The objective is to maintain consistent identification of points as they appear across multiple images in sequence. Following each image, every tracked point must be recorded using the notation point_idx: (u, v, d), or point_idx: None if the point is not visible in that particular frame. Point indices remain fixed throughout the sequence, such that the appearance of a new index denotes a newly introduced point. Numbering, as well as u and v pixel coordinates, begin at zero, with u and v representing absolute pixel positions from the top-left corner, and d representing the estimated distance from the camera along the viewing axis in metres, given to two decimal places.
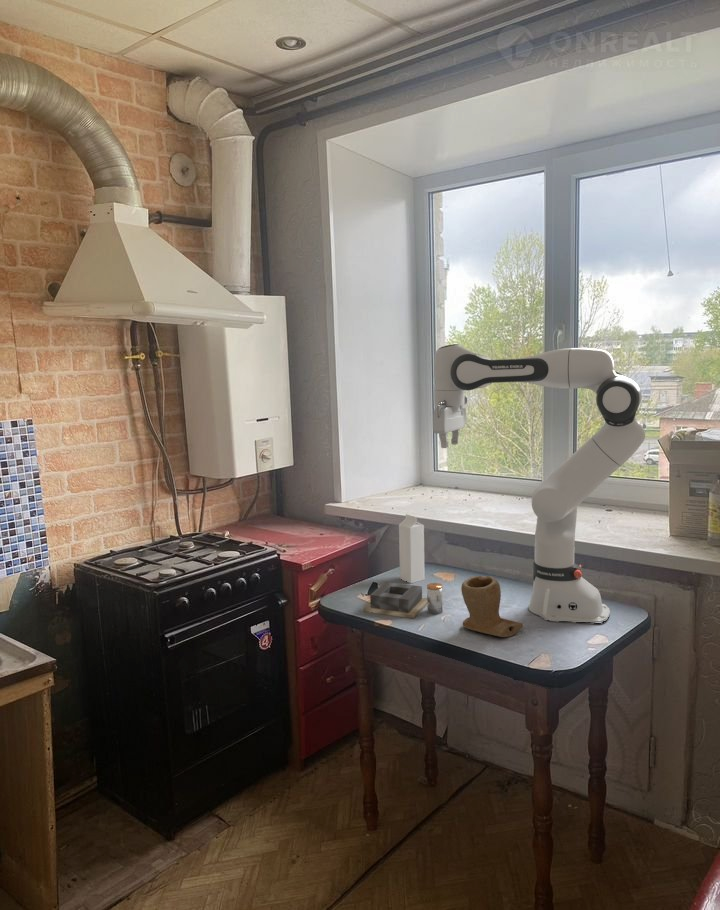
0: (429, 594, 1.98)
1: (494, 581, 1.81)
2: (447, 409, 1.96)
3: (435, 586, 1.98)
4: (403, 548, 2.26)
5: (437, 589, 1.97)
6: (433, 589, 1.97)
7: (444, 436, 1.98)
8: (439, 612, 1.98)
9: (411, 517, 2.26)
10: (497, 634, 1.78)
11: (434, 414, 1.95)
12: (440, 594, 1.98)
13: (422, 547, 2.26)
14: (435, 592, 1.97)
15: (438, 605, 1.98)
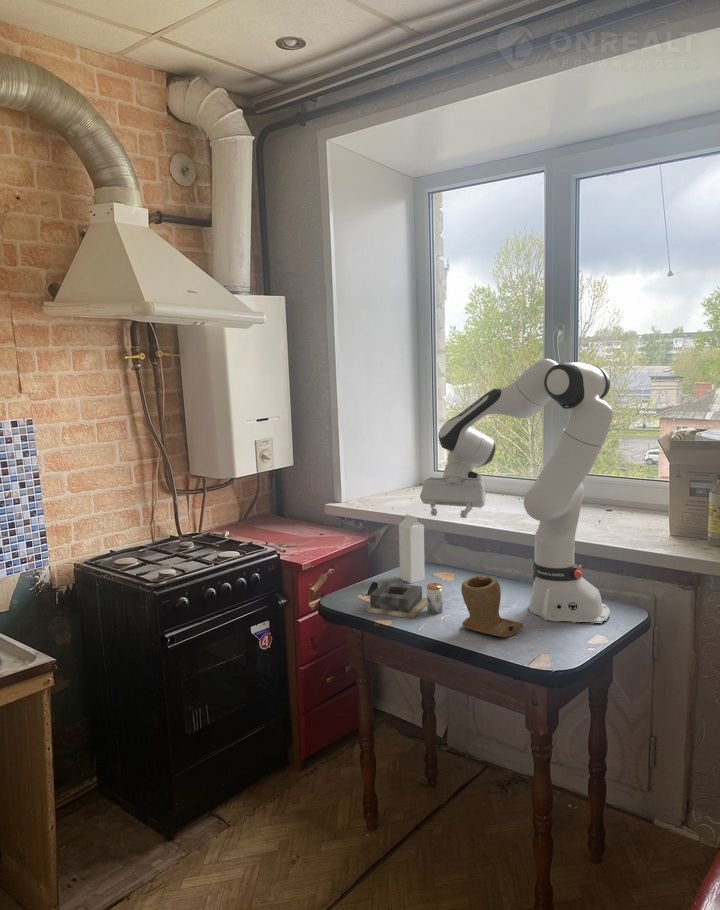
0: (429, 594, 1.98)
1: (494, 581, 1.81)
2: (432, 480, 2.17)
3: (435, 586, 1.98)
4: (403, 548, 2.26)
5: (437, 589, 1.97)
6: (433, 589, 1.97)
7: None
8: (439, 612, 1.98)
9: (411, 517, 2.26)
10: (497, 634, 1.78)
11: None
12: (440, 594, 1.98)
13: (422, 547, 2.26)
14: (435, 592, 1.97)
15: (438, 605, 1.98)
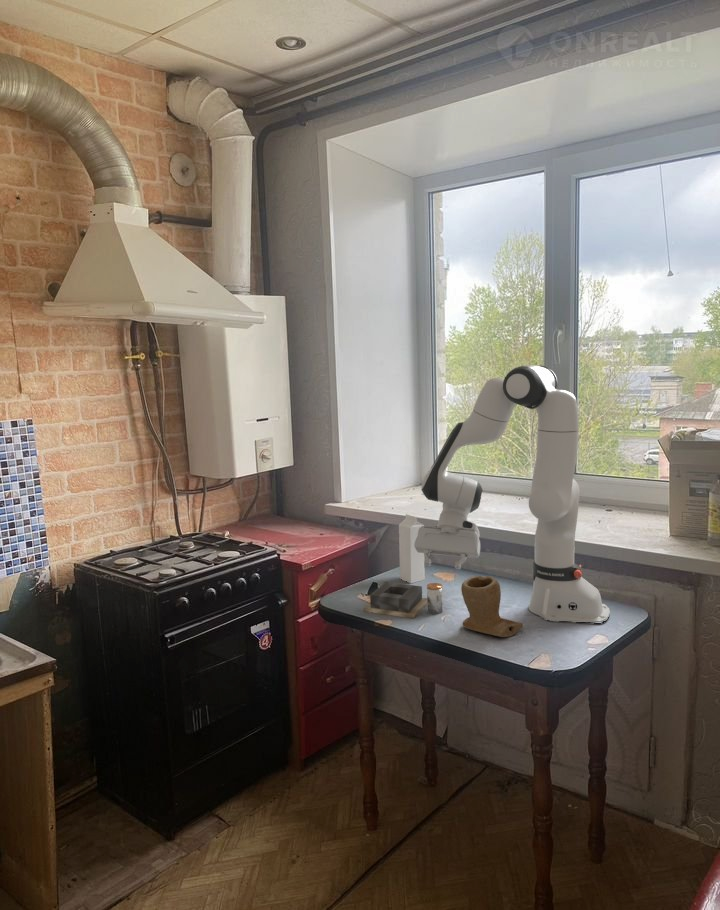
0: (429, 594, 1.98)
1: (494, 581, 1.81)
2: (426, 529, 2.13)
3: (435, 586, 1.98)
4: (403, 548, 2.26)
5: (437, 589, 1.97)
6: (433, 589, 1.97)
7: None
8: (439, 612, 1.98)
9: (411, 517, 2.26)
10: (497, 634, 1.78)
11: None
12: (440, 594, 1.98)
13: None
14: (435, 592, 1.97)
15: (438, 605, 1.98)
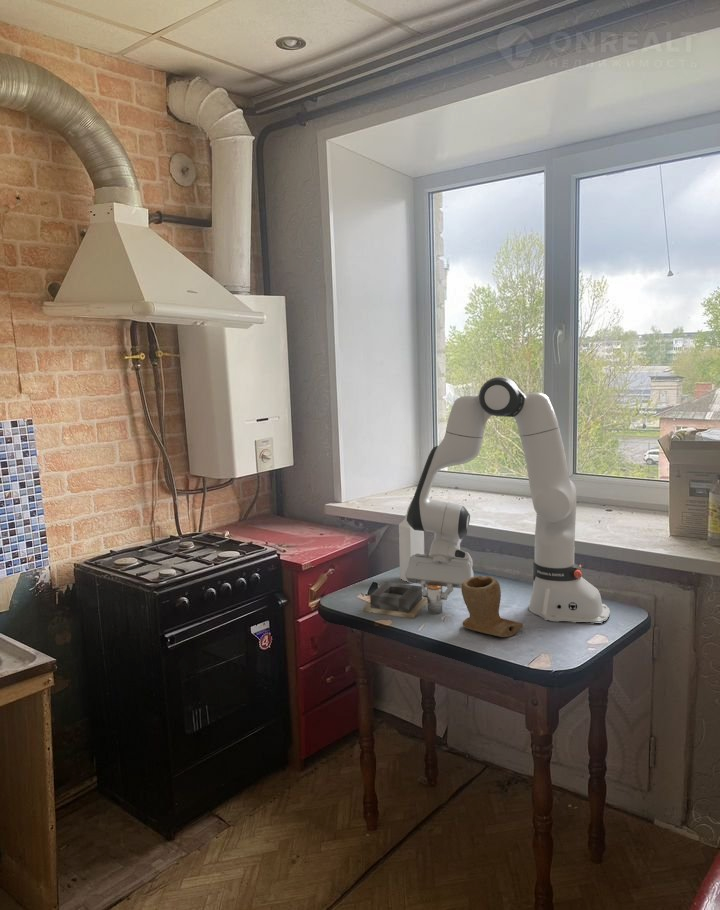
0: (429, 594, 1.98)
1: (494, 581, 1.81)
2: (418, 558, 2.06)
3: (435, 586, 1.98)
4: (403, 548, 2.26)
5: (437, 589, 1.97)
6: (433, 589, 1.97)
7: None
8: (439, 612, 1.98)
9: None
10: (497, 634, 1.78)
11: None
12: (440, 594, 1.98)
13: (422, 547, 2.26)
14: (435, 592, 1.97)
15: (438, 605, 1.98)
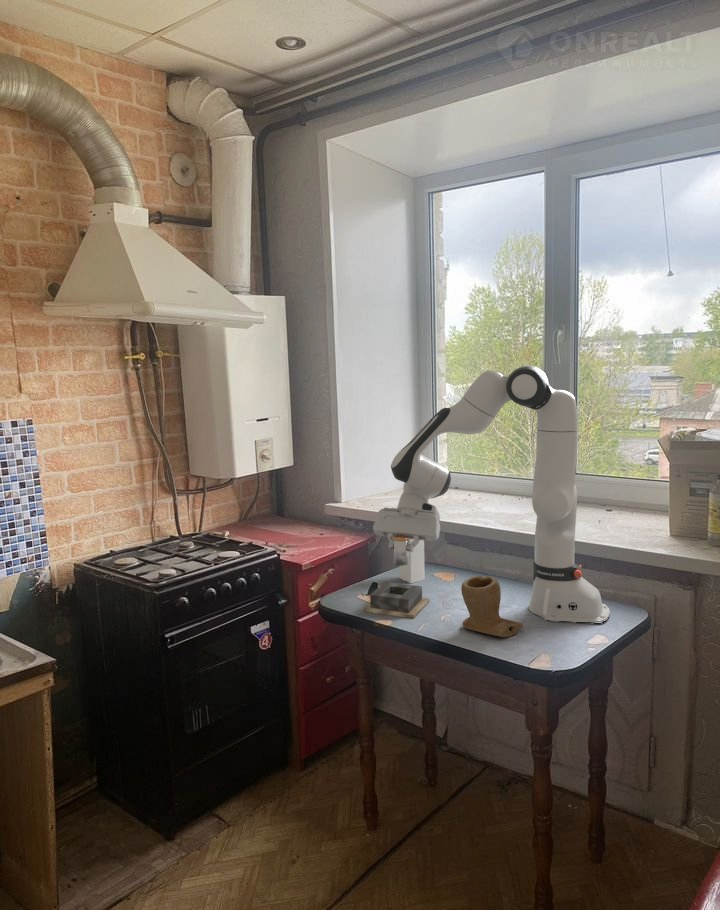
0: (396, 545, 2.00)
1: (494, 581, 1.81)
2: (386, 511, 2.08)
3: (401, 537, 2.00)
4: None
5: (403, 540, 1.99)
6: (399, 540, 1.99)
7: None
8: (405, 563, 2.00)
9: None
10: (497, 634, 1.78)
11: None
12: (406, 545, 2.00)
13: (422, 547, 2.26)
14: (401, 543, 1.99)
15: (404, 557, 2.00)
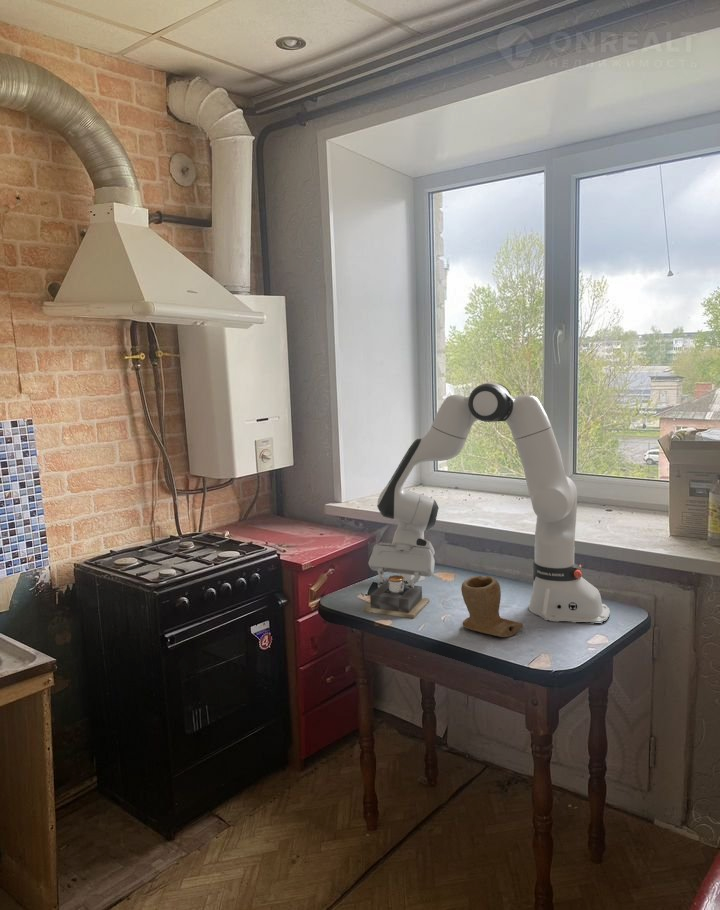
0: (391, 586, 2.02)
1: (494, 581, 1.81)
2: (381, 546, 2.11)
3: (396, 578, 2.03)
4: None
5: (398, 581, 2.01)
6: (394, 581, 2.01)
7: None
8: None
9: None
10: (497, 634, 1.78)
11: None
12: (401, 586, 2.02)
13: None
14: (396, 584, 2.01)
15: None
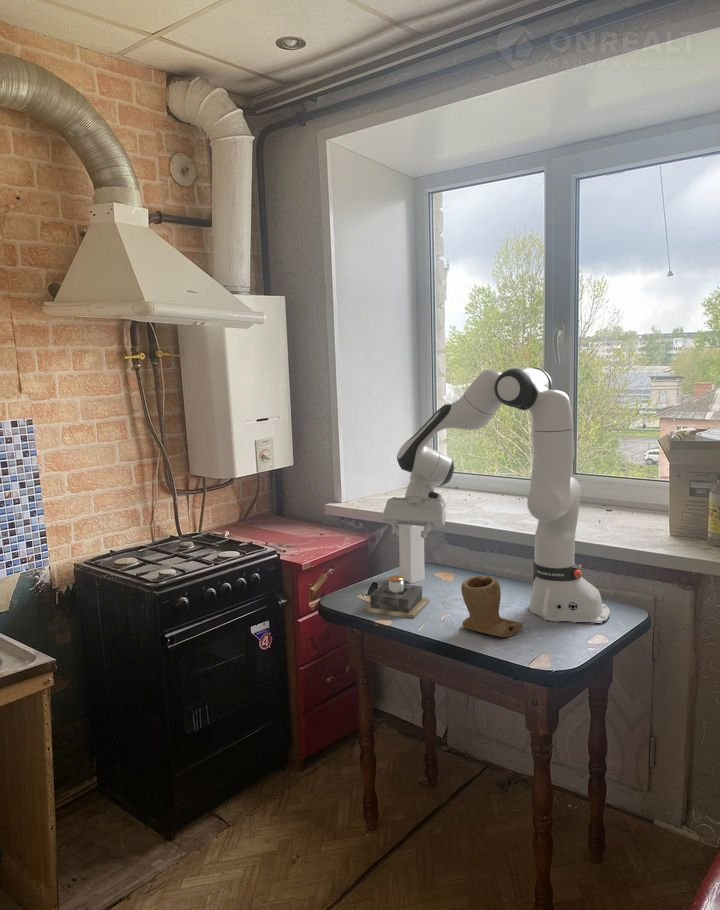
0: (391, 586, 2.02)
1: (494, 581, 1.81)
2: (394, 500, 2.20)
3: (396, 578, 2.03)
4: (403, 548, 2.26)
5: (398, 581, 2.01)
6: (394, 581, 2.01)
7: None
8: None
9: None
10: (497, 634, 1.78)
11: None
12: (401, 586, 2.02)
13: (422, 547, 2.26)
14: (396, 584, 2.01)
15: None
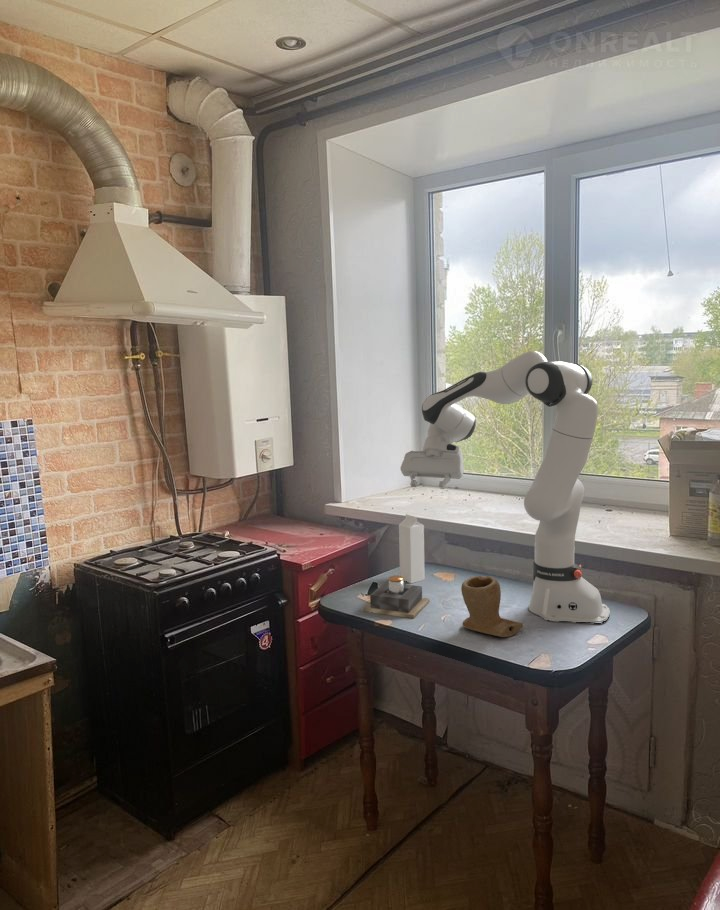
0: (391, 586, 2.02)
1: (494, 581, 1.81)
2: (412, 453, 2.23)
3: (396, 578, 2.03)
4: (403, 548, 2.26)
5: (398, 581, 2.01)
6: (394, 581, 2.01)
7: None
8: None
9: (411, 517, 2.26)
10: (497, 634, 1.78)
11: None
12: (401, 586, 2.02)
13: (422, 547, 2.26)
14: (396, 584, 2.01)
15: None
